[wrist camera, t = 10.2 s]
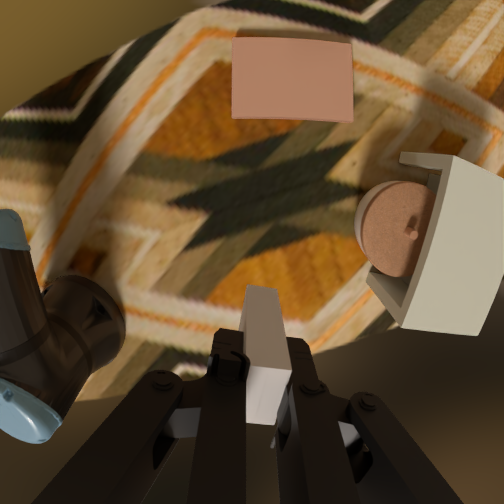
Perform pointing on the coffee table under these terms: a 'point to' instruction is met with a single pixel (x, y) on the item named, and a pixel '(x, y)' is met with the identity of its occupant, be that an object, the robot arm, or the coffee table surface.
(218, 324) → the coffee table surface
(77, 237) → the coffee table surface
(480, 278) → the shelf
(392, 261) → the lidded jar
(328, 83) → the book
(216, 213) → the coffee table surface
